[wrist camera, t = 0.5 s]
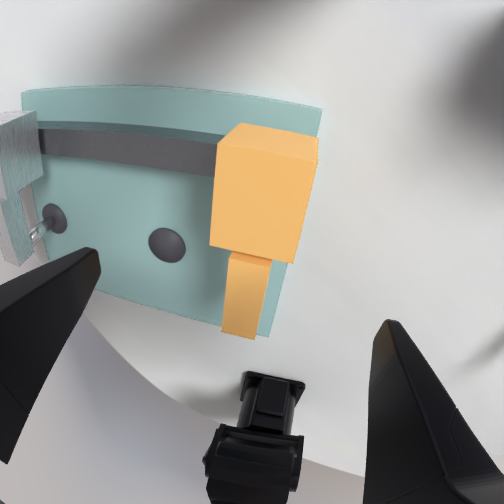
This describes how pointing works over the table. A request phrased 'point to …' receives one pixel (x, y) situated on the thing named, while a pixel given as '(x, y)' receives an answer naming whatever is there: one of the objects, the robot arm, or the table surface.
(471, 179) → the table surface
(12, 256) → the fixed leg
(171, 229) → the board
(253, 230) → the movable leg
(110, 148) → the rail
